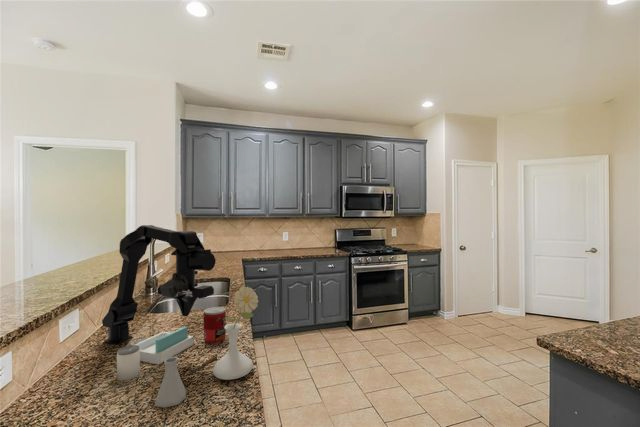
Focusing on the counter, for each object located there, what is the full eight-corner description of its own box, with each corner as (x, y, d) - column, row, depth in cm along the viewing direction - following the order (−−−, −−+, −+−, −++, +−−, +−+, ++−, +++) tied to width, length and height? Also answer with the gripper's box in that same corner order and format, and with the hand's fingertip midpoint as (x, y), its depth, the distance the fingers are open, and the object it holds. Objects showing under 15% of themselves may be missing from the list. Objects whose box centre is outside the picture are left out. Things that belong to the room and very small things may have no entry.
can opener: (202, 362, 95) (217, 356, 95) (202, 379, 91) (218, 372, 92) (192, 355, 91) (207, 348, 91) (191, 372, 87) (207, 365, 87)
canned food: (218, 344, 106) (218, 313, 106) (199, 342, 107) (199, 312, 108) (229, 335, 113) (229, 307, 113) (210, 334, 115) (210, 306, 115)
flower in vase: (215, 388, 78) (215, 294, 78) (210, 369, 88) (210, 286, 89) (263, 376, 84) (263, 288, 85) (253, 359, 94) (252, 281, 95)
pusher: (155, 359, 93) (155, 340, 93) (185, 343, 105) (185, 326, 105) (158, 359, 93) (158, 340, 93) (187, 343, 105) (187, 326, 105)
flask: (162, 391, 77) (162, 353, 77) (191, 390, 78) (191, 352, 78) (148, 409, 70) (149, 367, 70) (180, 408, 70) (180, 366, 71)
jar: (112, 378, 83) (112, 351, 84) (130, 369, 89) (130, 343, 89) (126, 382, 82) (126, 354, 82) (144, 372, 87) (144, 346, 87)
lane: (118, 356, 97) (118, 347, 97) (157, 338, 111) (157, 330, 111) (158, 364, 91) (158, 354, 91) (193, 344, 106) (193, 336, 106)
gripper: (142, 271, 93) (142, 321, 93) (190, 275, 87) (190, 327, 87) (171, 266, 104) (171, 310, 103) (214, 268, 98) (215, 315, 97)
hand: (185, 316), depth 97 cm, fingers closed
